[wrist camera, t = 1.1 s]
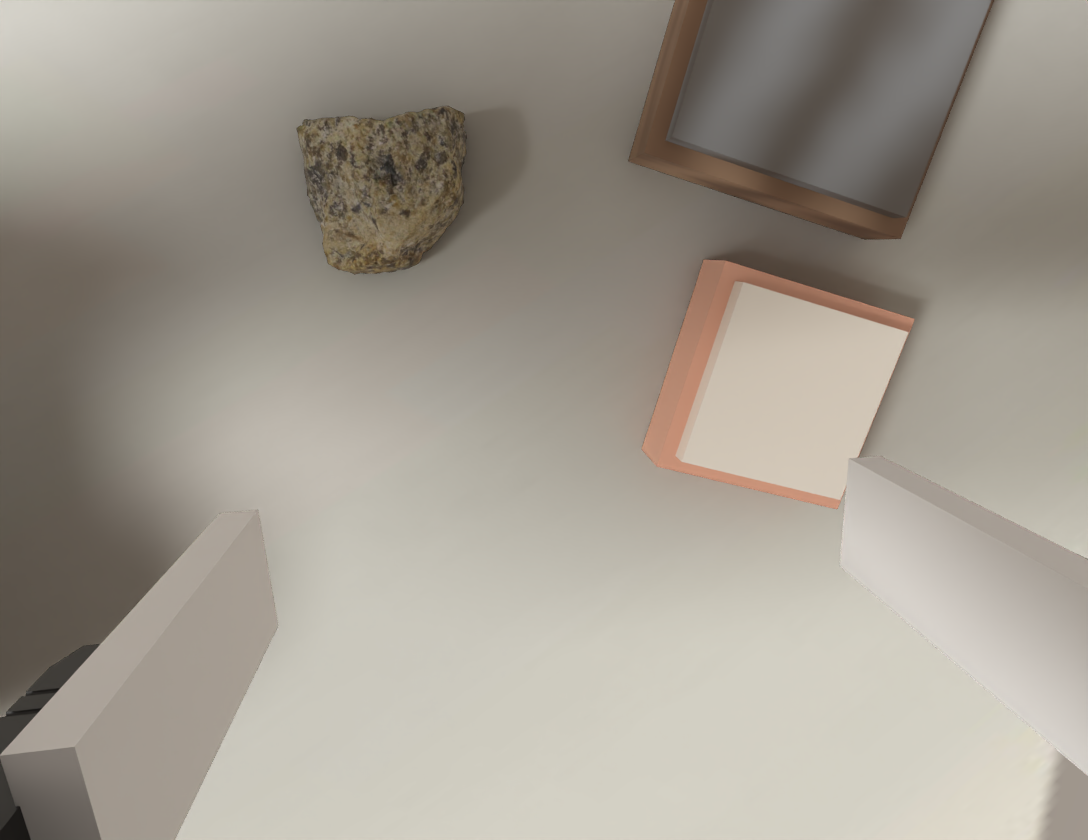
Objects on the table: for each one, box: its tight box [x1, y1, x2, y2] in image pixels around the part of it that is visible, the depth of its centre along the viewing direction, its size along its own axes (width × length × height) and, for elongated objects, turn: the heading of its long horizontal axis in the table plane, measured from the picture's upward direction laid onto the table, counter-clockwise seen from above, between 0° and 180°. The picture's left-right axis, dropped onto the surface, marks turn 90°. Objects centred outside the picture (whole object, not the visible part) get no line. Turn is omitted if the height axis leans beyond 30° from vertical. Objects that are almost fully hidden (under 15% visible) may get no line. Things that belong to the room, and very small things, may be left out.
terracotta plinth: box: [642, 259, 915, 509], centre depth 35 cm, size 11×11×4 cm
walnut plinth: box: [628, 0, 994, 239], centre depth 31 cm, size 14×14×4 cm
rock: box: [297, 106, 467, 274], centre depth 30 cm, size 7×8×4 cm
